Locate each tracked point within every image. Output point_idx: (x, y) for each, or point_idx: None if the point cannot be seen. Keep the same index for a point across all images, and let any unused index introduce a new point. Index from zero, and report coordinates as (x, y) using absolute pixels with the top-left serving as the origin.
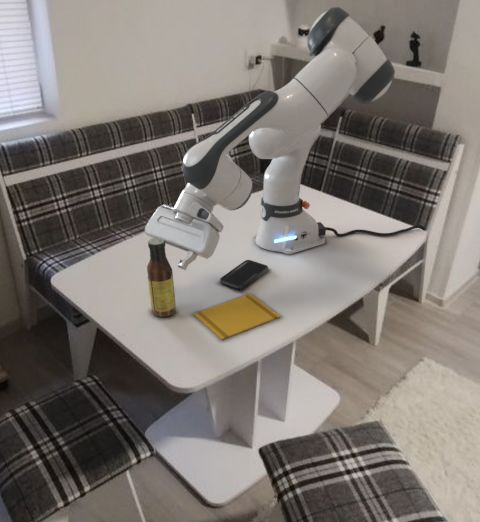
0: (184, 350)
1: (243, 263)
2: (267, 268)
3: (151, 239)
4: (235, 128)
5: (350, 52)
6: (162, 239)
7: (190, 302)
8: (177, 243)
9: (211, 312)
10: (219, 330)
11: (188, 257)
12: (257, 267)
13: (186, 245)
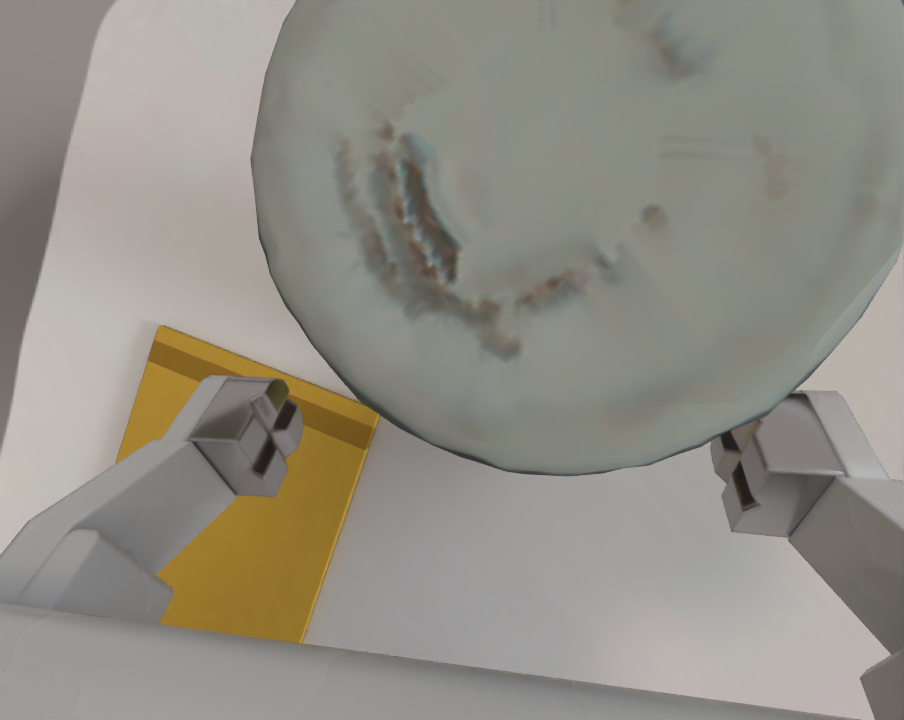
0: (242, 160)
1: None
2: None
3: (843, 103)
4: None
5: None
6: (437, 384)
7: (476, 502)
8: (261, 673)
9: (316, 476)
10: (199, 370)
11: (90, 494)
12: None
13: (4, 665)
